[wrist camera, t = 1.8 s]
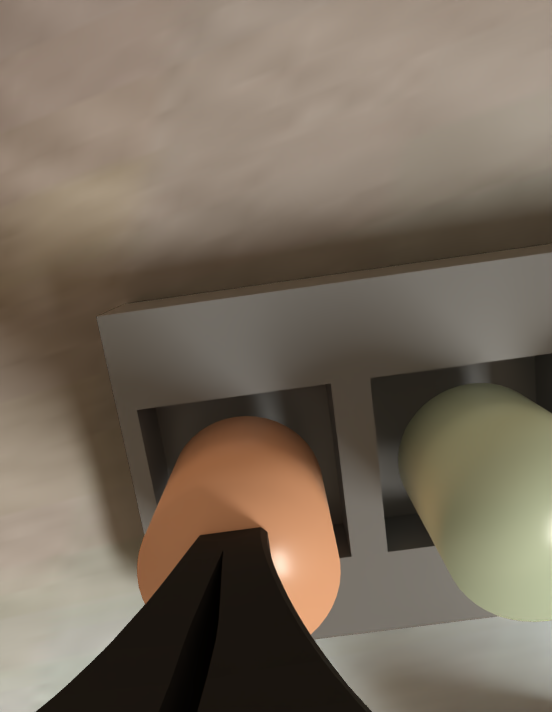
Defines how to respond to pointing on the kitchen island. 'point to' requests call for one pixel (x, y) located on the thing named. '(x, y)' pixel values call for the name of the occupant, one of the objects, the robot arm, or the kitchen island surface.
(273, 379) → the grey slotted tray
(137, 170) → the kitchen island surface
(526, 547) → the sage button
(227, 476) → the peach rounded piece
